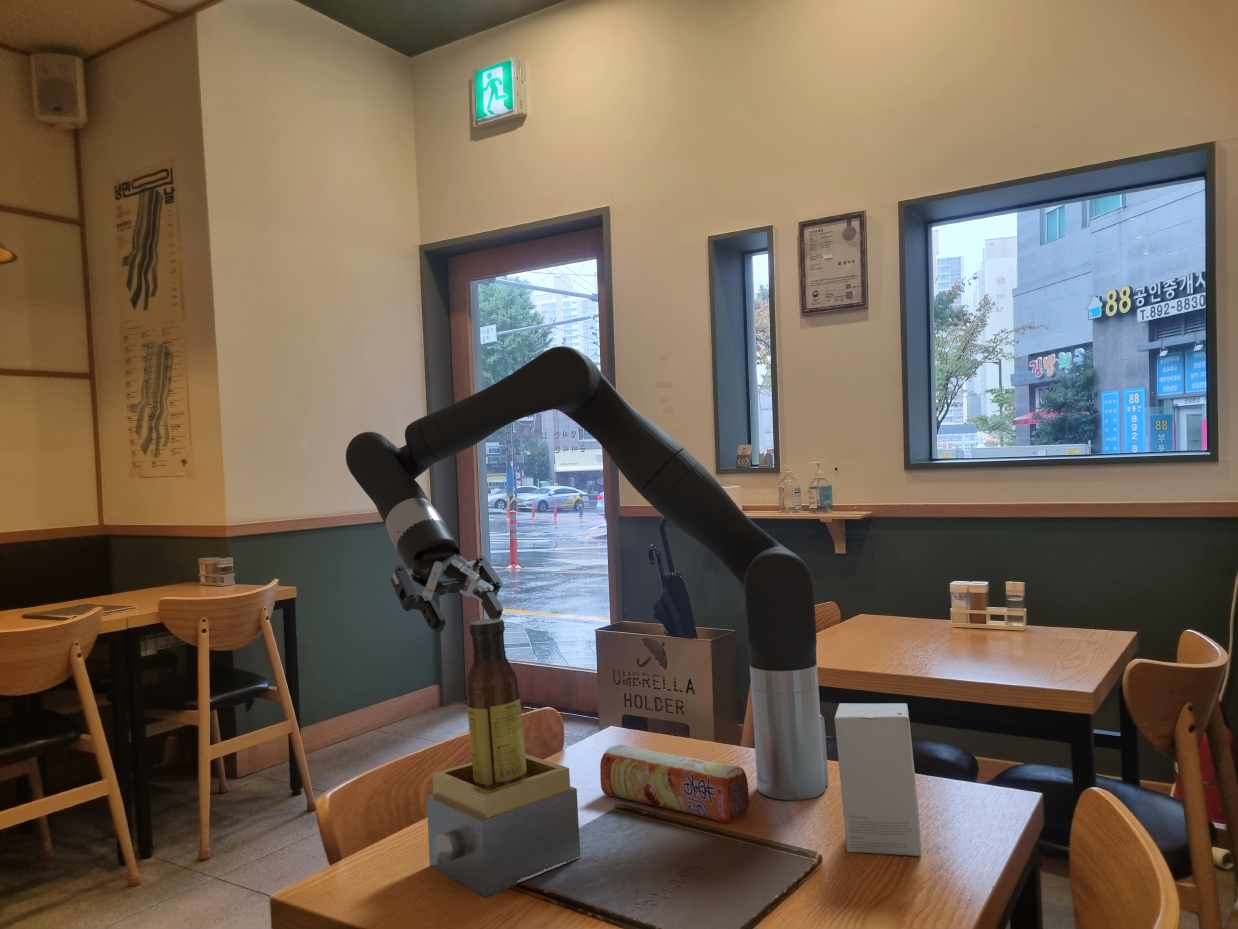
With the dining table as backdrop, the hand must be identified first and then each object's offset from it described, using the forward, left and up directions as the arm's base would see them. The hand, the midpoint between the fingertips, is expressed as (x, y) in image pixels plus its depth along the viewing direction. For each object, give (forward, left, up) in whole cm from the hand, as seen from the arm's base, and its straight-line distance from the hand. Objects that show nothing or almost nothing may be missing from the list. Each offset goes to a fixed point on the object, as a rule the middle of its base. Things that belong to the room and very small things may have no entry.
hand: (470, 622), depth 109 cm
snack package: (-23, +13, -27) cm, 37 cm away
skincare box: (-29, +41, -27) cm, 56 cm away
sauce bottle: (+3, +10, -19) cm, 21 cm away
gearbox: (+3, +11, -27) cm, 29 cm away
